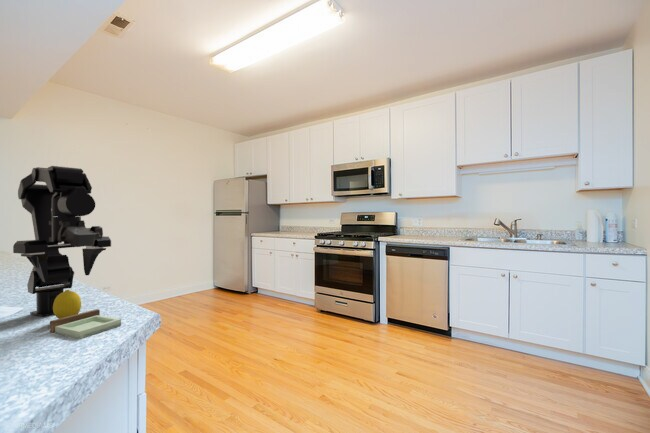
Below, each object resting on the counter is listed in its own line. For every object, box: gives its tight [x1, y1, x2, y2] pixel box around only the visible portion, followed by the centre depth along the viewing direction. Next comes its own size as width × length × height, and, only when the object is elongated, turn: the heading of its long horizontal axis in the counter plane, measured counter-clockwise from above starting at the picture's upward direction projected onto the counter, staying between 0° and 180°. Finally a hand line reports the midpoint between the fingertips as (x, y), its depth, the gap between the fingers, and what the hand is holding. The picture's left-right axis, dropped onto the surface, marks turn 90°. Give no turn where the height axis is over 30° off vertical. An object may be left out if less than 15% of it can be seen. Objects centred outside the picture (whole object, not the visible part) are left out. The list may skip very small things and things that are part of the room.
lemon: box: [53, 289, 82, 319], centre depth 79 cm, size 6×6×8 cm
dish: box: [54, 315, 122, 340], centre depth 73 cm, size 9×9×2 cm
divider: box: [49, 309, 101, 333], centre depth 76 cm, size 1×10×2 cm, turn 156°
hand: (67, 278), depth 79 cm, fingers open, 9 cm apart
